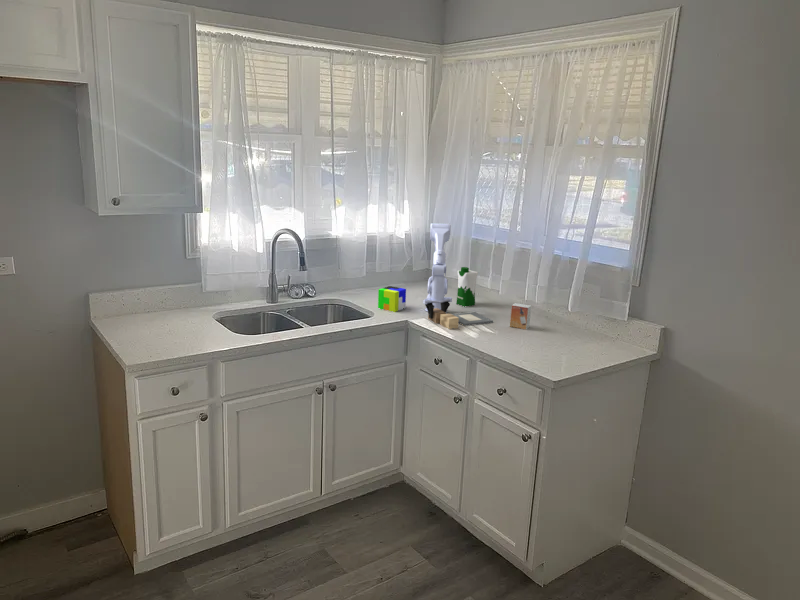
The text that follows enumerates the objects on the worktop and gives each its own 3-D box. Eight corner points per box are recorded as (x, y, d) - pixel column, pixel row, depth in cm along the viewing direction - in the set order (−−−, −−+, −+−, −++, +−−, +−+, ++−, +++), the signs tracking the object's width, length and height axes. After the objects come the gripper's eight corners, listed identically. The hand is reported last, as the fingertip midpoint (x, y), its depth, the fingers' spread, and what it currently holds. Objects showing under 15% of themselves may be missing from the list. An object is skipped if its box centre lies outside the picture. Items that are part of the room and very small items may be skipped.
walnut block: (428, 319, 292) (428, 309, 291) (437, 318, 294) (437, 308, 293) (435, 323, 285) (436, 313, 284) (445, 322, 287) (445, 312, 286)
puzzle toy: (405, 308, 310) (406, 288, 307) (394, 312, 302) (395, 292, 299) (389, 304, 315) (389, 286, 312) (378, 308, 307) (378, 289, 304)
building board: (447, 316, 296) (447, 314, 296) (475, 313, 303) (475, 311, 303) (464, 325, 282) (464, 323, 282) (493, 322, 289) (493, 320, 289)
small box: (509, 327, 283) (511, 305, 281) (513, 324, 288) (514, 302, 285) (526, 329, 280) (528, 307, 277) (529, 326, 284) (531, 305, 282)
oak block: (439, 324, 284) (440, 314, 282) (449, 323, 286) (449, 313, 284) (448, 329, 277) (449, 318, 275) (458, 328, 279) (458, 317, 277)
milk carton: (453, 303, 321) (455, 266, 316) (466, 302, 326) (469, 265, 321) (464, 307, 314) (466, 269, 309) (477, 305, 319) (480, 268, 314)
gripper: (428, 292, 279) (427, 321, 282) (455, 290, 285) (454, 318, 289) (421, 289, 285) (420, 317, 289) (448, 287, 291) (446, 314, 295)
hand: (436, 317), depth 289 cm, fingers open, 6 cm apart
